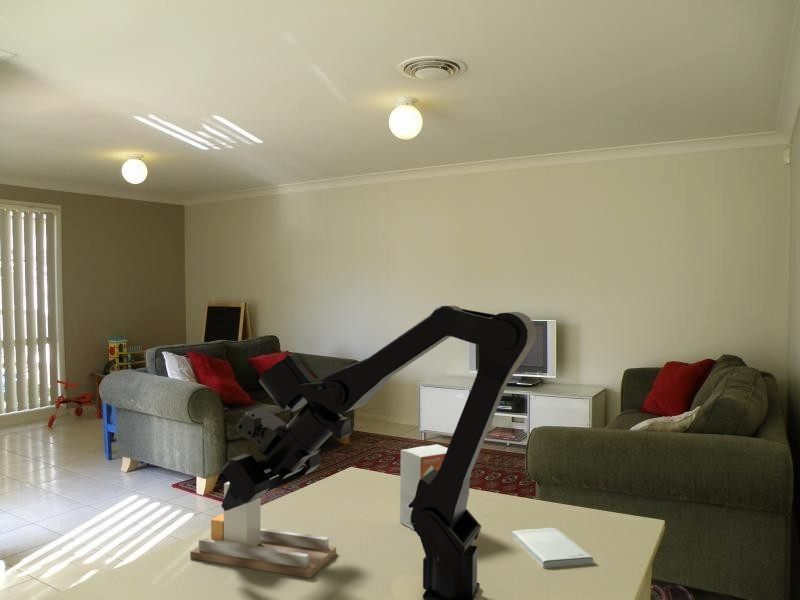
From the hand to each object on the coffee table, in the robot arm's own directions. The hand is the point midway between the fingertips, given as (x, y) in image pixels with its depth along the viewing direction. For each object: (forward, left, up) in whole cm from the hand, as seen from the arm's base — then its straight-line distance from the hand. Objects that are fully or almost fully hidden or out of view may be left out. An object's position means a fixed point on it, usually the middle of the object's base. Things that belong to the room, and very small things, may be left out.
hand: (243, 499), depth 97 cm
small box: (-24, -21, -9) cm, 33 cm away
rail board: (-4, 0, -8) cm, 9 cm away
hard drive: (-45, -17, -9) cm, 49 cm away
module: (0, 0, -7) cm, 7 cm away
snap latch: (+3, 0, -7) cm, 8 cm away
